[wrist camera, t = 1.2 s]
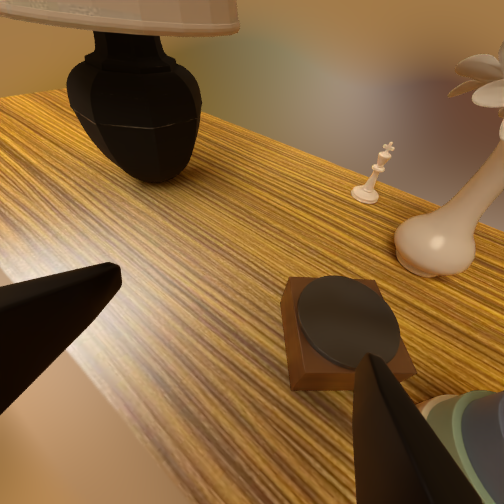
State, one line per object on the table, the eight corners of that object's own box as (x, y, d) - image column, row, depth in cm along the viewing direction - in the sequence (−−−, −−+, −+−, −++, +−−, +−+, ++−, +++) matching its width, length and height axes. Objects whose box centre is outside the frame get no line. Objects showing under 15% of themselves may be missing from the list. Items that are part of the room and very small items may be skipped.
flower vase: (504, 329, 28) (1011, 62, 10) (349, 263, 33) (506, 2, 15) (488, 259, 37) (752, 42, 18) (365, 214, 41) (480, 8, 23)
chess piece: (372, 207, 43) (403, 152, 36) (346, 195, 45) (371, 141, 38) (380, 196, 46) (410, 143, 39) (356, 185, 48) (380, 133, 41)
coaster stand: (385, 390, 23) (422, 370, 18) (290, 390, 22) (306, 370, 18) (355, 305, 29) (377, 276, 25) (280, 302, 28) (290, 272, 24)
